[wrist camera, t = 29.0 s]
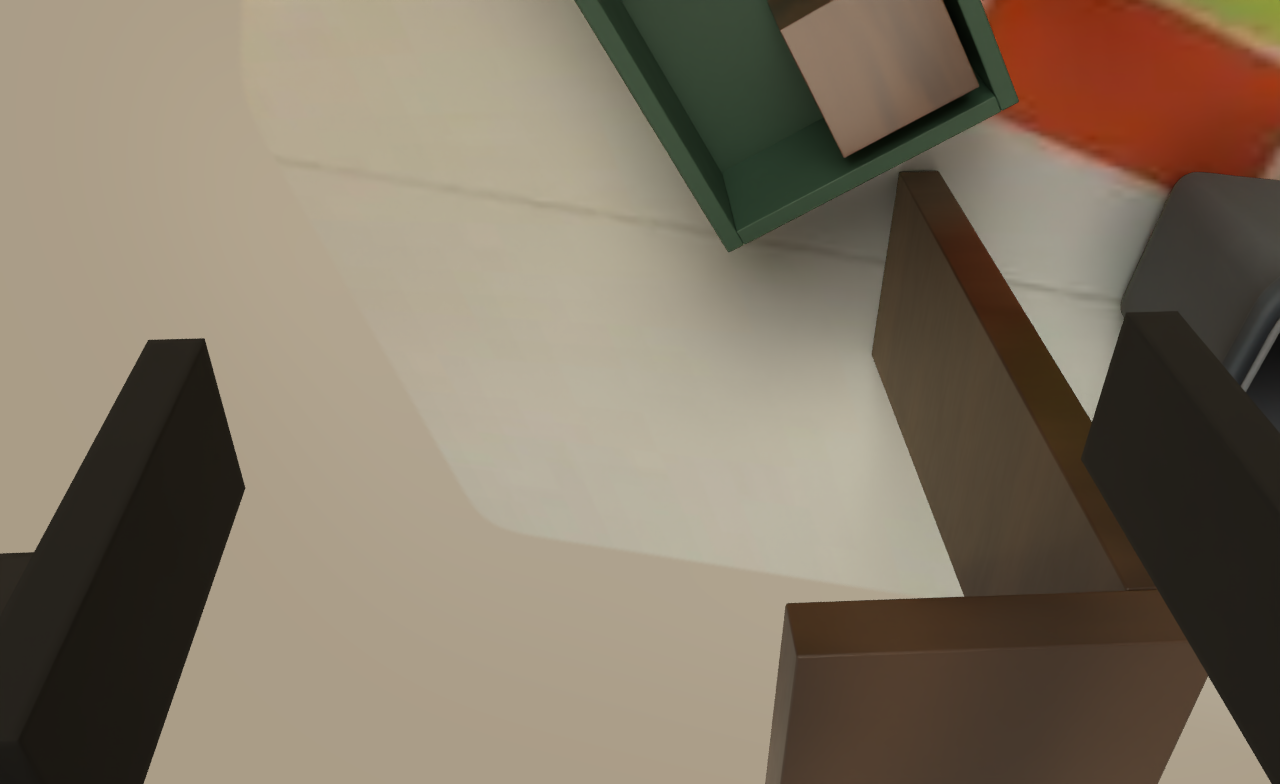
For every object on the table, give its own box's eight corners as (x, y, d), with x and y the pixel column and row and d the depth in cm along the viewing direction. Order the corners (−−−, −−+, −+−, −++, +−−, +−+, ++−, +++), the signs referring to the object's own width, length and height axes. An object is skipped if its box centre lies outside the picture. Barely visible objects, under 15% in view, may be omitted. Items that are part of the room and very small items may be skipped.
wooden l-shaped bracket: (689, 374, 62) (766, 892, 38) (696, 175, 54) (796, 656, 30) (904, 368, 62) (1116, 875, 38) (939, 170, 55) (1226, 639, 31)
